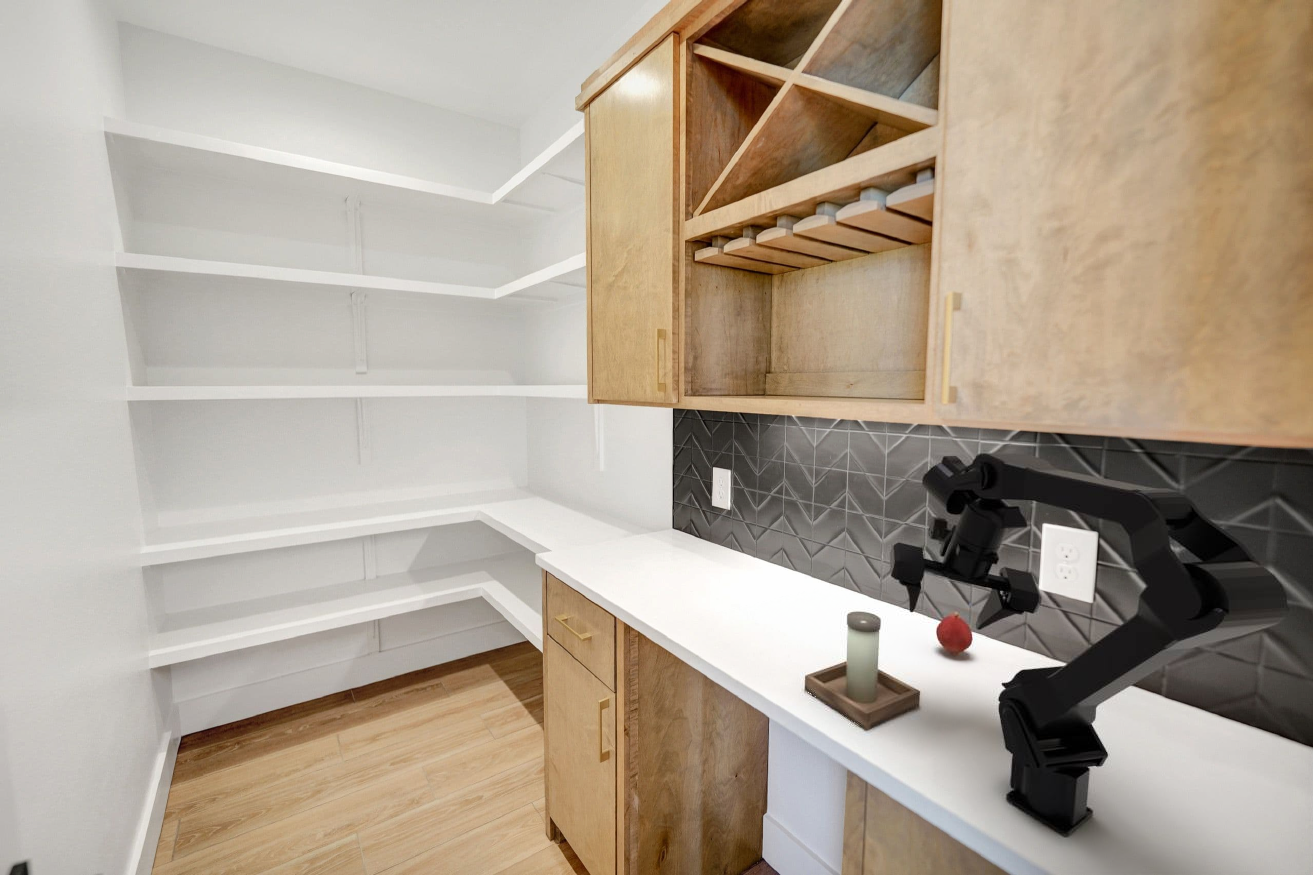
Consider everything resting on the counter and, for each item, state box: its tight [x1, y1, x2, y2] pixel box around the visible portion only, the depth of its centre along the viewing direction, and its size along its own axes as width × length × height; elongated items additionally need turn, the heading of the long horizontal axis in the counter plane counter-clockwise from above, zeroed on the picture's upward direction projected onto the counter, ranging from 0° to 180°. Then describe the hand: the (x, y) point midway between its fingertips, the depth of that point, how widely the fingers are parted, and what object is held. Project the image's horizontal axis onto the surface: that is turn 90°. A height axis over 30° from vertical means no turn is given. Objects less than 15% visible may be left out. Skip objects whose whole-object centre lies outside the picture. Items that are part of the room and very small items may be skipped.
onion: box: [935, 612, 974, 656], centre depth 102 cm, size 6×6×8 cm
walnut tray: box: [804, 660, 921, 731], centre depth 88 cm, size 12×12×2 cm
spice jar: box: [846, 611, 882, 703], centre depth 87 cm, size 5×5×12 cm
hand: (943, 618), depth 84 cm, fingers open, 9 cm apart
